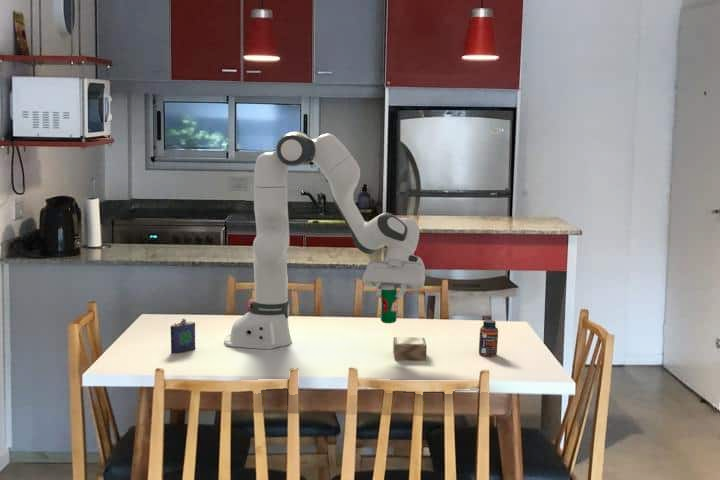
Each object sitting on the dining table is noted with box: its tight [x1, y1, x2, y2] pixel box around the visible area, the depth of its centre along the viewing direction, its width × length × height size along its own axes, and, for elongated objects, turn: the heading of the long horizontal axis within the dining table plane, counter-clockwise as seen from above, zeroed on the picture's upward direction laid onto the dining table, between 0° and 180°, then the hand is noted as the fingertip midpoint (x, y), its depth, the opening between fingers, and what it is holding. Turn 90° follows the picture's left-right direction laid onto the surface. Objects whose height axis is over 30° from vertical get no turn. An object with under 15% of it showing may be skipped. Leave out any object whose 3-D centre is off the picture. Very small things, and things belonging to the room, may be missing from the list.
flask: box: [170, 318, 196, 355], centre depth 299 cm, size 9×3×11 cm, turn 138°
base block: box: [392, 336, 428, 362], centre depth 300 cm, size 10×10×5 cm
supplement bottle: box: [478, 319, 499, 357], centre depth 304 cm, size 6×6×11 cm
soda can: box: [380, 284, 398, 324], centre depth 298 cm, size 5×5×12 cm
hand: (388, 297), depth 297 cm, fingers closed on soda can, 5 cm apart
